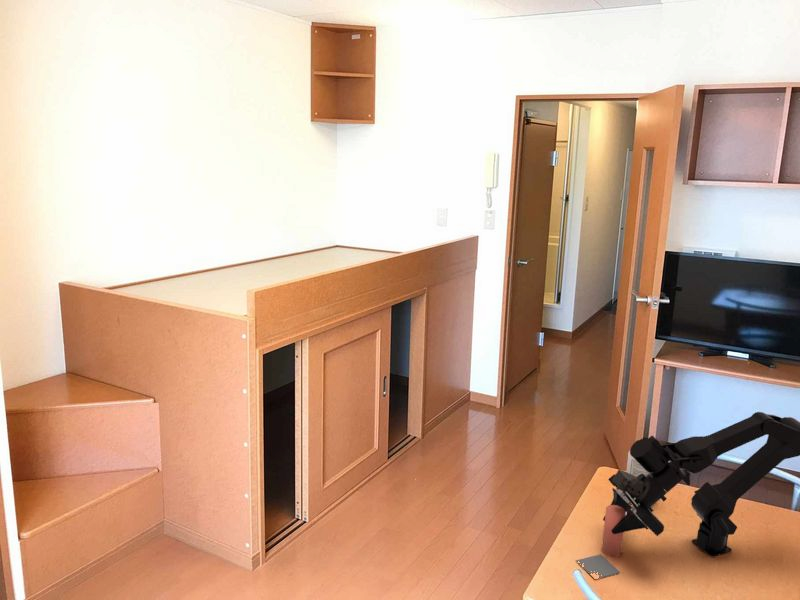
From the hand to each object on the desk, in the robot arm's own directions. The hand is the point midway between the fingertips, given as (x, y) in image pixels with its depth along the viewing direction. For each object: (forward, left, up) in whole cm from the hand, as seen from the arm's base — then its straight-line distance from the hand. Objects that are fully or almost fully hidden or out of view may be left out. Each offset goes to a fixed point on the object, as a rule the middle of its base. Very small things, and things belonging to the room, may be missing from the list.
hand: (608, 526), depth 153 cm
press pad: (+6, +4, -7) cm, 10 cm away
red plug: (-1, 0, -7) cm, 7 cm away
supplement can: (-23, -16, -7) cm, 29 cm away
